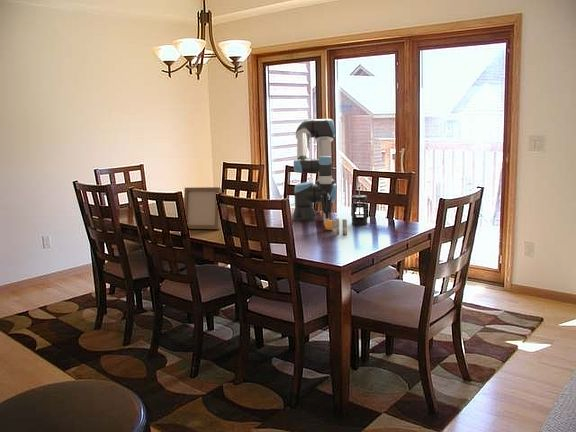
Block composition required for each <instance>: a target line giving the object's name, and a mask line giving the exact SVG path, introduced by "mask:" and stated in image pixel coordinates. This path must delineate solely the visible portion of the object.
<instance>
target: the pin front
mask: <svg viewBox="0 0 576 432" xmlns="http://www.w3.org/2000/svg"><path fill="white" fill-rule="evenodd" d="M334 220H337V235H340V219H339V218H338V217H337V218H334Z"/></svg>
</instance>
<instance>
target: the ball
mask: <svg viewBox="0 0 576 432" xmlns="http://www.w3.org/2000/svg"><path fill="white" fill-rule="evenodd" d="M332 220H333V219H329V220H327V221H326V222H325V224H324V223H323V225H324V228H325V229H326V231H332Z"/></svg>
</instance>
